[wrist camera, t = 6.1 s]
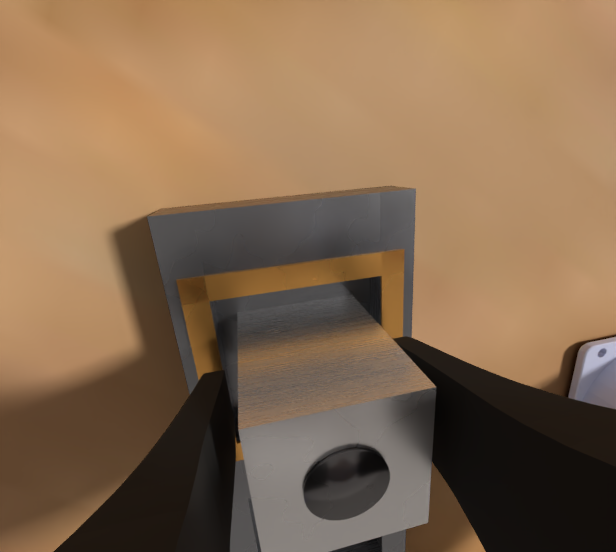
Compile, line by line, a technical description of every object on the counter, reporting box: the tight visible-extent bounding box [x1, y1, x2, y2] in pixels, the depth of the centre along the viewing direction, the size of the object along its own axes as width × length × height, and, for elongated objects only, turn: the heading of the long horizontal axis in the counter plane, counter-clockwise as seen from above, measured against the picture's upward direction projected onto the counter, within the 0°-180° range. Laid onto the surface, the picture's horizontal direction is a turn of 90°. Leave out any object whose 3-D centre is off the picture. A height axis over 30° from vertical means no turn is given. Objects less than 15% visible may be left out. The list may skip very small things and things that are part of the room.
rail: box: [147, 186, 416, 552], centre depth 15 cm, size 8×28×2 cm, turn 4°
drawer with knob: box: [237, 295, 436, 552], centre depth 10 cm, size 4×4×6 cm
